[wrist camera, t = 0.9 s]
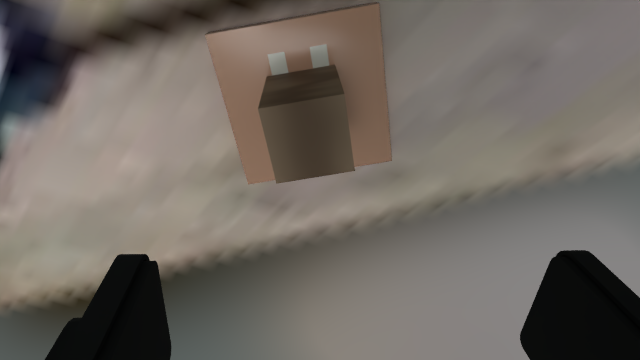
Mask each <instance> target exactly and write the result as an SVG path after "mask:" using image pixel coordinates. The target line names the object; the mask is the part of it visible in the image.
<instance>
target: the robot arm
mask: <svg viewBox="0 0 640 360" xmlns="http://www.w3.org/2000/svg"><path fill="white" fill-rule="evenodd" d="M520 340H521V344H522V347H523V349H524V351H525V352H526V354H527V355H528V357H529V359H530V360H640V298H639V297H638V296H637V295H636V294H635V293H634V292H633V291H632V290H631V289H630V288H628V287H627V286H626V285H625V284H624V283H623V282H622V281H621V280H620V279H619V278H618V277H617V276H616V275H614V274H613V273H612V272H611V271H610V270H609V269H608V268H607V267H606V266H605V265H604V264H602V262H600V261H599V260H598V259H597V258H596V257H595V256H594V255H593V254H591V253H590V252H589V251H585V250H581V251H580V250H579V251H578V250H575V251H574V250H572V251H560V252H559V253H558V254H557V255H556V257H554V258H552V260H551V261H550V263H549V266H548V268H547V270H546V273H545V275H544V278H543V280H542V282H541V285H540V287H539V290H538V292H537V295H536V297H535V300H534V302H533V304H532V307H531V309H530V312H529V314H528V316H527V319H526V321H525V323H524V326H523V329H522V331H521V334H520ZM170 356H171V340H170V334H169V328H168V323H167V317H166V311H165V305H164V299H163V293H162V287H161V281H160V275H159V269H158V264H157V262H156V261H149V257H148V256H147V255H146V254H120V255H118V256H117V257H116V258H115V260H114V262H113V263H112V265H111V267H110V269H109V270H108V272H107V274H106V276H105V278H104V279H103V281H102V283H101V285H100V286H99V288H98V290H97V292H96V293H95V295H94V297H93V299H92V301H91V302H90V304H89V306H88V308H87V310H86V311H85V313H84V315H83V317H82V318H73V319H72V320H70V321H69V322H68V323H67V324H66V326H65V327H64V328H63V330H62V332H61V333H60V335H59V337H58V338H57V340H56V342H55V344H54V345H53V347H52V349H51V350H50V352H49V354H48V355H47V357H46V359H45V360H170Z"/></svg>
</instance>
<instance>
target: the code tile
mask: <svg viewBox="0 0 640 360" xmlns="http://www.w3.org/2000/svg"><path fill="white" fill-rule="evenodd" d="M205 36H206V40H207V43H208V47H209V50H210V54H211V57H212V60H213V64H214V67H215V71H216V74H217V78H218V81H219V85H220V88H221V92H222V95H223V98H224V102H225V105H226V109H227V112H228V116H229V119H230V123H231V126H232V130H233V133H234V136H235V140H236V143H237V147H238V150H239V154H240V157H241V161H242V164H243V167H244V171H245V174H246V178H247V181H248V184H253V183H259V182H265V181H271V180H276V179H275V175H274V171H273V167H272V163H271V159H270V155H269V151H268V147H267V143H266V139H265V135H264V131H263V127H262V123H261V119H260V115H259V111H258V107H259V103H260V99H261V96H262V92H263V88H264V85H265V81H266V77H267V76H272V75H278V74H284V73H289V72H295V71H301V70H307V69H312V68H318V67H324V66H330V65H335V66H336V69H337V72H338V75H339V78H340V82H341V85H342V88H343V91H344V94H345V101H346V109H347V116H348V123H349V131H350V138H351V146H352V153H353V161H354V167H357V166H363V165H369V164H375V163H381V162H388V161H392V156H391V144H390V132H389V120H388V107H387V95H386V83H385V71H384V58H383V46H382V34H381V21H380V9H379V3H377V2H374V3H368V4H363V5H357V6H352V7H346V8H341V9H335V10H329V11H324V12H318V13H313V14H307V15H302V16H296V17H291V18H285V19H279V20H274V21H268V22H263V23H257V24H252V25H246V26H240V27H235V28H229V29H224V30H218V31H213V32H208V33H207V34H205Z"/></svg>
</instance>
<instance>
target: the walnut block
mask: <svg viewBox="0 0 640 360" xmlns="http://www.w3.org/2000/svg"><path fill="white" fill-rule="evenodd" d="M258 111H259V115H260V119H261V123H262V127H263V131H264V135H265V139H266V143H267V147H268V151H269V155H270V159H271V163H272V167H273V171H274V175H275V179H276V183H283V182H289V181H295V180H301V179H307V178H313V177H319V176H326V175H332V174H338V173H344V172H350V171H355V168H354V161H353V153H352V146H351V138H350V131H349V123H348V116H347V109H346V101H345V94H344V91H343V88H342V85H341V82H340V78H339V75H338V72H337V69H336V66H335V65H330V66H324V67H318V68H312V69H307V70H301V71H295V72H289V73H284V74H278V75H272V76H267V77H266V81H265V85H264V88H263V92H262V96H261V99H260V103H259V107H258Z"/></svg>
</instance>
